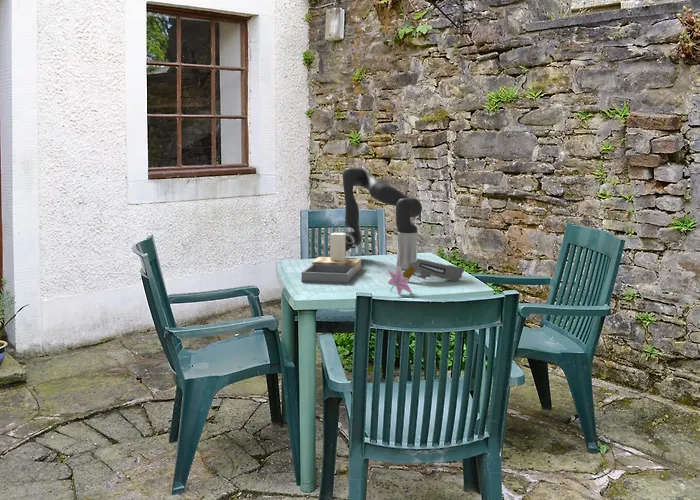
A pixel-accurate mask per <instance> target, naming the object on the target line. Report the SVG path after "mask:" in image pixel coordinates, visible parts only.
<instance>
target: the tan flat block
mask: <svg viewBox="0 0 700 500" xmlns="http://www.w3.org/2000/svg"><path fill="white" fill-rule="evenodd" d="M312 264H318V265H344V266H356V275H357V274H358V273H359V271H360V270H362V269H361V268H362V258H361V257H345V259H344V260H343V261H340V260H330V256H319V257H316V259H314V260H313V261H312V263H311V265H312Z"/></svg>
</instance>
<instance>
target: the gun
mask: <svg viewBox="0 0 700 500" xmlns="http://www.w3.org/2000/svg"><path fill="white" fill-rule="evenodd" d="M416 271H418V272H419V274H416V273H415V272H416ZM464 271H465V268H464V267H462V266H455V265H450V264H443V263H440V262H435V261H430V260H427V259H421V258H417V259H416V260H415V261H414V262H411V263H410V267H409V268H407V269H406V270H405V269H404V272H402V273H403V277H405V278H408V279H409V280H410V278H412V276H415V277H417V278H420V279H422V280H426V279H427V278H430V277H431V275H433V276H435V277H439V278H441V279H446V280H448V281H451V282H456V281H459V280H460V279H461V278H462V277H463V274H464Z"/></svg>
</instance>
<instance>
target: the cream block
mask: <svg viewBox="0 0 700 500" xmlns="http://www.w3.org/2000/svg"><path fill="white" fill-rule="evenodd" d="M345 237H346V233H343V232H332V233H330V239H329V240H330V242H329V248H330V250H329V252H330V253H329V254H330V255H329V257H330V260H340V261H343V260H344V259H345V258H346V251H345Z"/></svg>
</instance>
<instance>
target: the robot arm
mask: <svg viewBox="0 0 700 500" xmlns="http://www.w3.org/2000/svg"><path fill="white" fill-rule="evenodd" d="M342 185H343V194H344V195H343V196H344V204H345V205H344V206H345V212H344V213H345V214H344V215H345V217H344V225H345V226H346V227H348V228H351V229H352V230H353V231H350V230H349V231H348V230H346V231H343V232H342V233H346V237H345V252H348V251H349V250H350V249H355V248H356V246H357V247H358V246H360V244H361V243H362V235H361V231H360V223H359V222H360V208H359V206H358V203H357V201H356V199H355V196H354V187H362V188H363V189H366V190H368V193H369V195H370V196H371V198H373V199H375V200H376V201H378V202H380V203H382V204H385V205H388V206H393V207H395V225H396V228H397V237H396V240H397V242H396V246H397V247H396V269H397V268H398V267H400V268H401V270H404V271H405V270H406V269H407V268H409V267H410V263H411V262H414V261H415V260H416V259H418V226H417V225H415V224H413V223H412V222H411V218H416V217H418V216H420V215H421V214H422V212H423V207H422V206H423V205H422V203H421V202H420V200H419V199H417V198H416V197H413V196H410V195H407V194H405V193H403V192H402V191H400V190H398V189H396V188H394V187H392V186H391V185H390V184H388V183H386V182H384V181H382V180H380V179H378V178H376V177H374V176H373V175H371V174H370V173H369V172H368V171H366V170H365V169H363V168H361V167H347V168H345V169H344V171H343V173H342Z"/></svg>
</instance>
